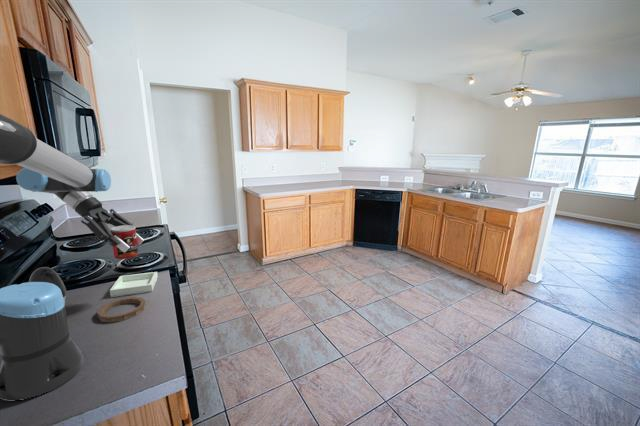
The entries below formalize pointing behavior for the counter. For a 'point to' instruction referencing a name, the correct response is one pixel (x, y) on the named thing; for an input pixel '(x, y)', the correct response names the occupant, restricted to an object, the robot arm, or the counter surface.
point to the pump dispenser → (48, 278)
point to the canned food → (129, 237)
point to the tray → (134, 284)
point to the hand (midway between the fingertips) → (134, 246)
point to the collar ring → (121, 316)
